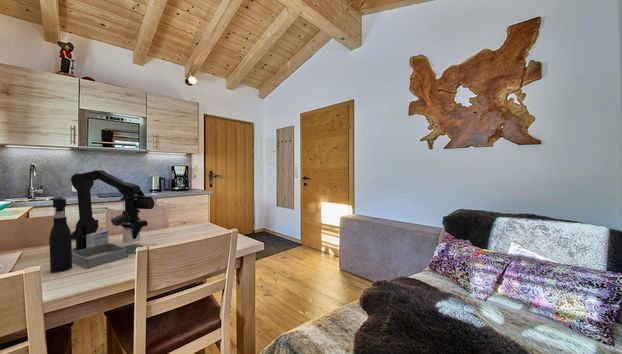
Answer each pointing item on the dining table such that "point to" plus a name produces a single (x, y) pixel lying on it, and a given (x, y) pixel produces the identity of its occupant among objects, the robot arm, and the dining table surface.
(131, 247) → the mat
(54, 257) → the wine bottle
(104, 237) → the medicine box
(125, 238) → the block
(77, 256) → the grey tray
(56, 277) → the dining table surface
